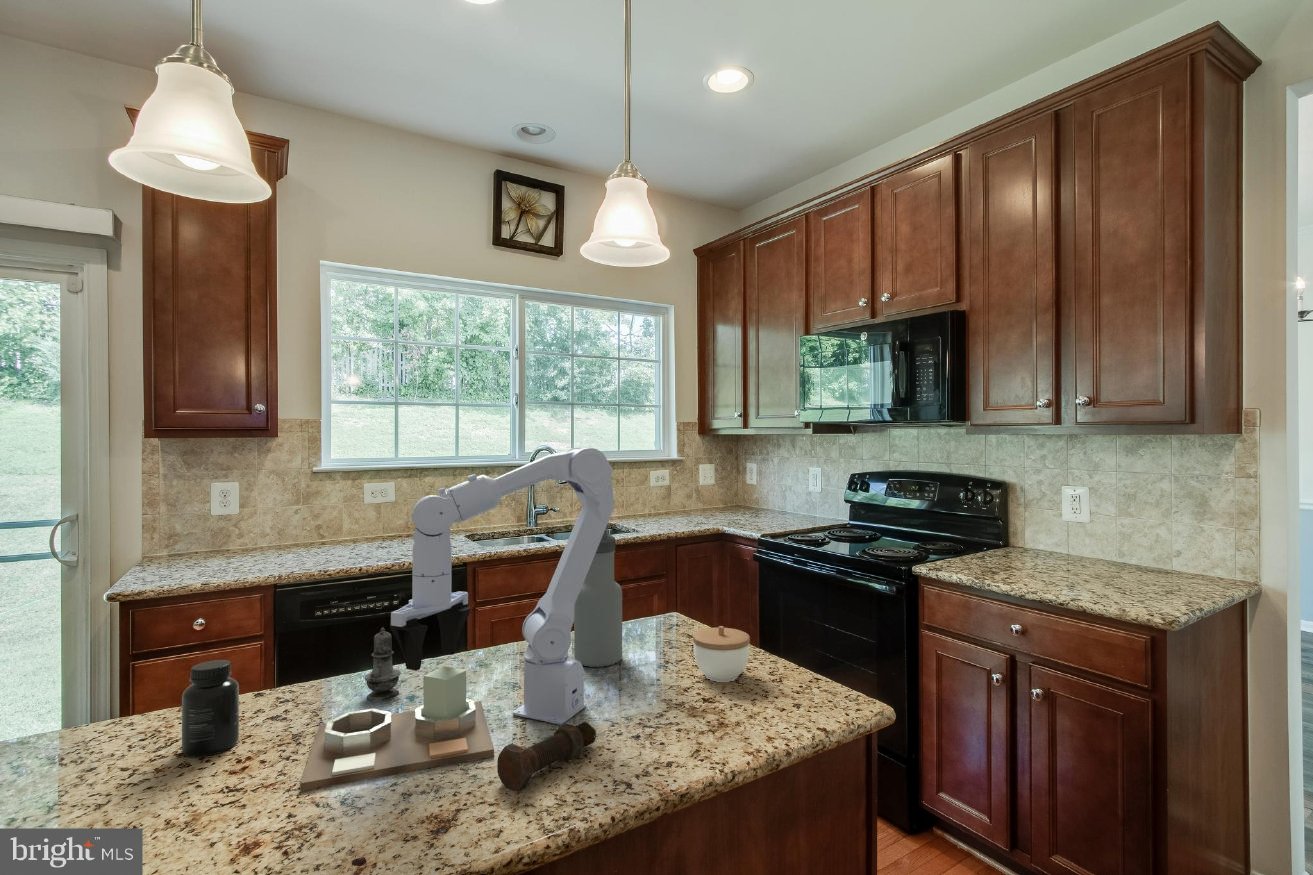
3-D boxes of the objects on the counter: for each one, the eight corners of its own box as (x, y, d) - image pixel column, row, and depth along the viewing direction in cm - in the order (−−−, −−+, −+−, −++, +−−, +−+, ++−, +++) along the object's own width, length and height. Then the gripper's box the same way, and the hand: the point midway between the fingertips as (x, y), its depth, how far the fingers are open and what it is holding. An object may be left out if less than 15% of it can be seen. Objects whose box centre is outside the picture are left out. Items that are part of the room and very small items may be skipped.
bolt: (592, 759, 92) (512, 802, 80) (571, 733, 94) (490, 771, 82) (608, 729, 90) (529, 769, 78) (586, 704, 93) (506, 738, 81)
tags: (465, 740, 91) (465, 737, 91) (467, 751, 88) (467, 748, 88) (335, 762, 85) (335, 759, 85) (332, 775, 82) (332, 772, 82)
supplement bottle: (249, 740, 94) (250, 659, 94) (203, 762, 87) (204, 675, 88) (217, 733, 96) (217, 654, 96) (169, 754, 90) (170, 670, 90)
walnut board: (480, 706, 105) (480, 700, 105) (494, 756, 89) (494, 749, 89) (319, 731, 97) (319, 724, 97) (300, 790, 80) (300, 783, 80)
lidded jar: (682, 680, 117) (682, 629, 117) (709, 662, 126) (708, 616, 126) (735, 691, 112) (735, 638, 112) (758, 673, 121) (758, 624, 121)
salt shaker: (387, 703, 107) (387, 632, 107) (356, 700, 108) (356, 630, 108) (407, 690, 113) (407, 623, 113) (378, 687, 114) (378, 621, 114)
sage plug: (466, 721, 97) (466, 670, 98) (446, 733, 93) (446, 679, 94) (443, 717, 99) (443, 666, 99) (423, 728, 95) (423, 675, 95)
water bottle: (571, 653, 132) (571, 520, 133) (617, 649, 135) (616, 519, 135) (577, 670, 122) (576, 526, 123) (626, 666, 125) (626, 524, 125)
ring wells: (472, 709, 102) (472, 694, 102) (477, 732, 94) (477, 715, 94) (329, 731, 94) (329, 714, 94) (322, 757, 86) (322, 739, 86)
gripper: (444, 563, 106) (444, 644, 106) (375, 580, 92) (374, 672, 92) (478, 566, 103) (478, 649, 103) (412, 584, 90) (411, 679, 90)
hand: (431, 661), depth 97 cm, fingers open, 7 cm apart
